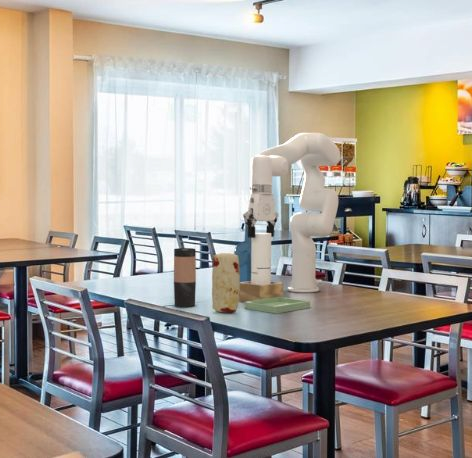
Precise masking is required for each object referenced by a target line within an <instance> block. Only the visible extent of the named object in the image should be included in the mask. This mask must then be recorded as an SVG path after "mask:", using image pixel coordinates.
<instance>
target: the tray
mask: <svg viewBox="0 0 472 458" xmlns="http://www.w3.org/2000/svg"><path fill="white" fill-rule="evenodd" d="M310 308H311V301H310V300H304V299H297V298H291V297H284V296H283V297H274V298H268V299H261V300H254V301H248V302H245V303H244V309H247V310H251V311H258V312H264V313H269V314H270V313H271V314H281V313H288V312H293V311H299V310H305V309H310Z"/></svg>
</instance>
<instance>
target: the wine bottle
mask: <svg viewBox="0 0 472 458" xmlns="http://www.w3.org/2000/svg"><path fill="white" fill-rule="evenodd" d="M252 222H253V221H252ZM251 249H252V238H249V237H248V226H247V225H246V223H245V222H244V240H243V241H241V242H240V243H238V244H237V245H236V247H234V250H233V254H235V255H237V256H238V258H239V275H240V282H247V281H251Z"/></svg>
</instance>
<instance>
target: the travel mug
mask: <svg viewBox="0 0 472 458" xmlns="http://www.w3.org/2000/svg"><path fill="white" fill-rule="evenodd" d="M196 253H197V252H196V248H193V247H179V248H178V247H177V248H174V249H173V298H174V307H176V308H193V307H195V306H196V289H197V287H196V286H197V284H196V283H197V270H196V269H197V265H196V262H197V261H196V259H197V258H196V256H197V255H196Z"/></svg>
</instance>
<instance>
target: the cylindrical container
mask: <svg viewBox="0 0 472 458" xmlns="http://www.w3.org/2000/svg"><path fill="white" fill-rule="evenodd" d="M271 281H272V237H271V233H266V232H255V238H252V249H251V284H255V285H267V284H271Z"/></svg>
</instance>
